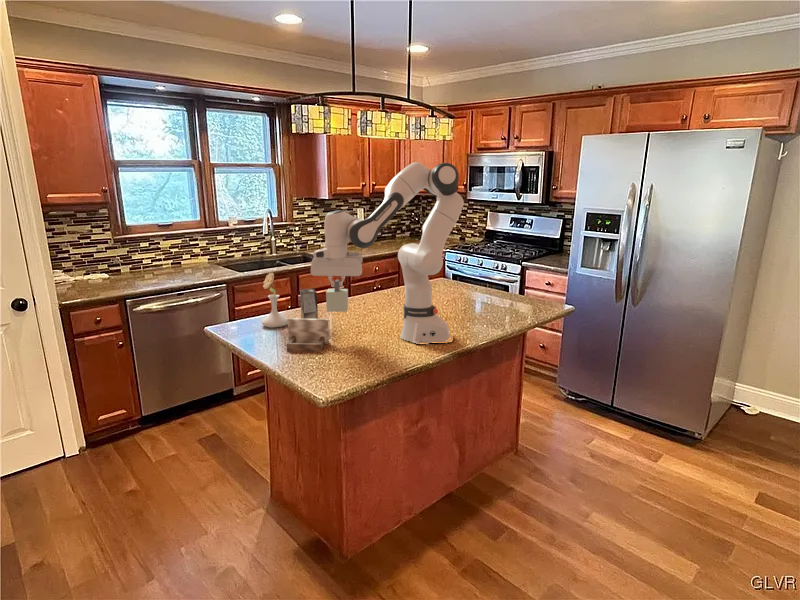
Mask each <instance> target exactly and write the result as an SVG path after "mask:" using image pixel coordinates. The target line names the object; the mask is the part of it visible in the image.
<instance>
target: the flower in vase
mask: <svg viewBox="0 0 800 600" xmlns="http://www.w3.org/2000/svg"><path fill="white" fill-rule="evenodd" d="M274 278H275V273H274V272H269V273H268V274H267V275H266V276H265V279H264V281H262V282H263V286H262V288H263V289H264V290H266V289H269V291H270V292H271V293H272V294H269V295H267V298H268V299H269V301H270V303H271V304H270V305H271V311H270V313H269V314H268V315H267V316H265V317H264V318H263V319H262V321H261V325H262V326H264V327H267V328H282V327H283V326H286V325H288V318H286V317H285V316H284V315H282V314H281V313H279V311H278V308H277V307H278V299H279V297H280V294H276V293H277V289H276V288H275V285H274V283H273V282H274Z"/></svg>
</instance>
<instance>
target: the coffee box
mask: <svg viewBox="0 0 800 600" xmlns="http://www.w3.org/2000/svg"><path fill="white" fill-rule="evenodd" d="M299 292H300V293H299V296H300V298H299V299H300V316H301V317H300V318H307V319H319V316H318V315H319V313H318V311H319V310H318V292H317V291H316V290H315V288H304V289H302V288H301V289H299Z"/></svg>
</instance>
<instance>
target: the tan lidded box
mask: <svg viewBox="0 0 800 600" xmlns="http://www.w3.org/2000/svg"><path fill="white" fill-rule="evenodd" d="M287 320H288V323H287V336H288V337H287V338H288V340H287V343H286V351H287V352H305V353H306V352H307V353H309V352H310V353H311V352H312V353H321V352H322V350H323V348H324V346H325V345H326V344H327V345H328V344H329V343H330V335H329V334H330V328H329V325H330V324H329V323H330V322H329V318H318V319H307V318H301V317H300V318H297V317H293V318H292V317H291V318H290V317H288V318H287Z"/></svg>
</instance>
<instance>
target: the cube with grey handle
mask: <svg viewBox="0 0 800 600" xmlns="http://www.w3.org/2000/svg"><path fill="white" fill-rule="evenodd" d="M333 282H334V287H333V288H328V289H327V290H326V291H325V298H326V299H325V300H326V301H325V302H326V303H325V305H326V307H325V309H326V312H330V313H331V312H335V313H342V312H343V313H346V312H348V309H349V289H348V288H341V287H339V282H340V279H335V280H334V281H333Z"/></svg>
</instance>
